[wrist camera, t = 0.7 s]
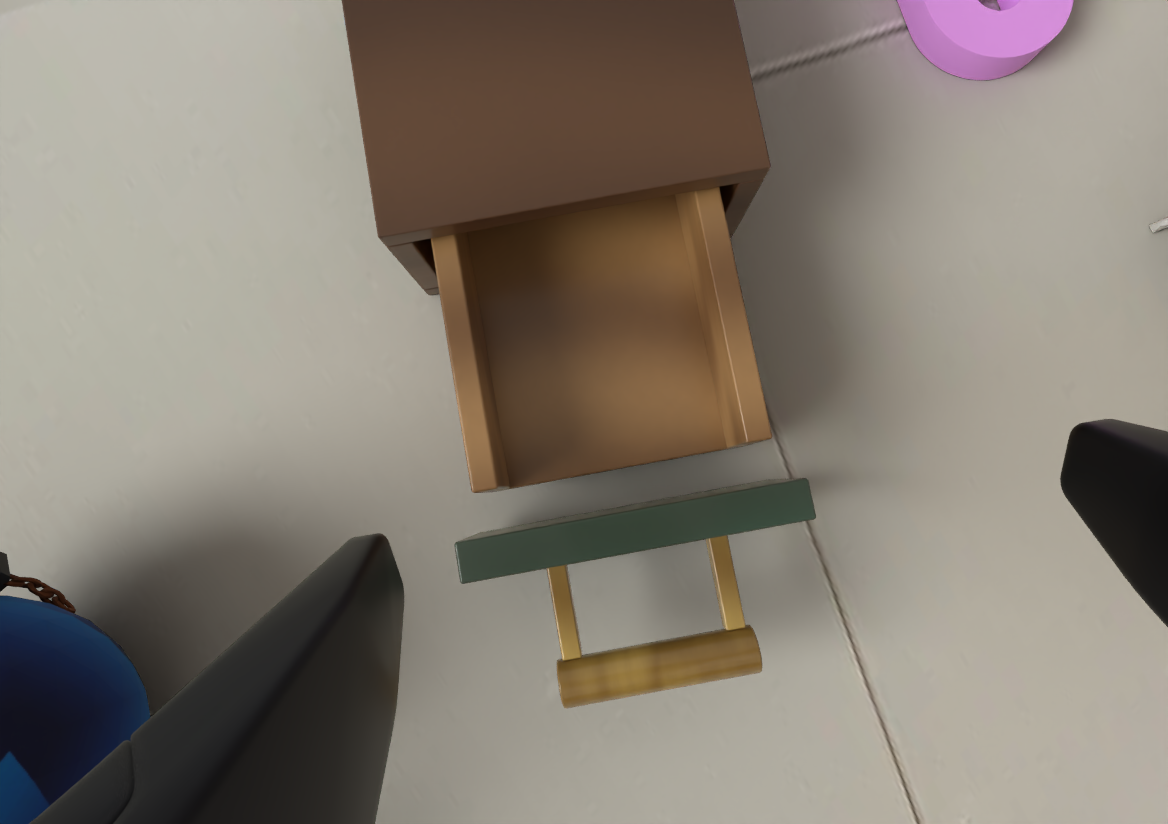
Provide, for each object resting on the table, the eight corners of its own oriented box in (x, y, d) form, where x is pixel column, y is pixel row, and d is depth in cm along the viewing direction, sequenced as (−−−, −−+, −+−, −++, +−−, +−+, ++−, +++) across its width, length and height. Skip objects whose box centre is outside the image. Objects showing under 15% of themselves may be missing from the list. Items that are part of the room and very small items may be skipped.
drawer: (803, 638, 23) (851, 671, 19) (504, 693, 23) (484, 739, 19) (706, 176, 25) (729, 113, 21) (428, 226, 25) (395, 173, 21)
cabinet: (729, 242, 26) (771, 166, 20) (427, 296, 26) (377, 237, 20) (661, -81, 27) (680, -242, 21) (375, -31, 27) (313, -178, 21)
